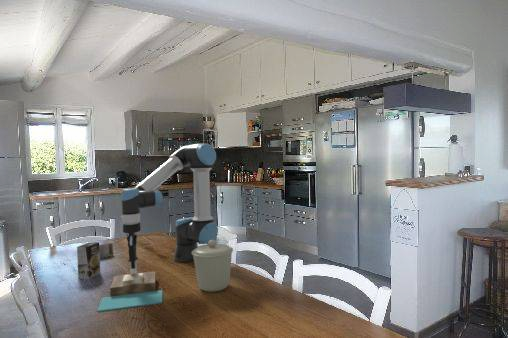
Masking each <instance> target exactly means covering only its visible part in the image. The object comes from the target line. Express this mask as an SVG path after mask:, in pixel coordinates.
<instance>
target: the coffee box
mask: <svg viewBox="0 0 508 338" xmlns="http://www.w3.org/2000/svg"><path fill="white" fill-rule="evenodd" d="M99 245H100V242H98V241H97V242H95V241H94V242H93V241H92V242H87V243H83V244H81V245H78V246H77V247H76V253H77V274H78V275H77V276H78V279H79V280H90V279H93V278H95V277H97V276H99V275H100V274H101V258H100V251H99Z"/></svg>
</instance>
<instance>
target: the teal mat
mask: <svg viewBox="0 0 508 338" xmlns="http://www.w3.org/2000/svg"><path fill="white" fill-rule="evenodd" d="M158 304H163V289H161V290H155V291H151V292H143V293H135V294H128V295H120V296H112V297H111V296H105V297H102V298H101V301H100V303H99V305H98V308H97V309H96V311H97V313H101V312H107V311H113V310H115V311H116V310H121V309H127V308H128V309H129V308H135V307H136V308H137V307H144V306H149V305H150V306H151V305H152V306H153V305H158Z"/></svg>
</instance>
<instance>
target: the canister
mask: <svg viewBox="0 0 508 338" xmlns="http://www.w3.org/2000/svg"><path fill="white" fill-rule="evenodd" d="M233 252H234V248H233V247H231V246H229V245H227V244H222V243H217V241H216V239H215V240H210V241H209V242H208V244H201V245H200V246H198V247H197V248H196V249H194V250H193V251H192V255H193V257H194V261H193V263H194V268H195V270H194V271H195V276H196V282H197V285H198V288H199V289H200V290H202V291H204V292H210V293H212V292H214V293H215V292H219V291H222V290H225V289H226V288H227V287H228V286H229V284H230V280H231V279H230V278H231V272H232V271H231V269H232V258H233V257H232V254H233Z"/></svg>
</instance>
